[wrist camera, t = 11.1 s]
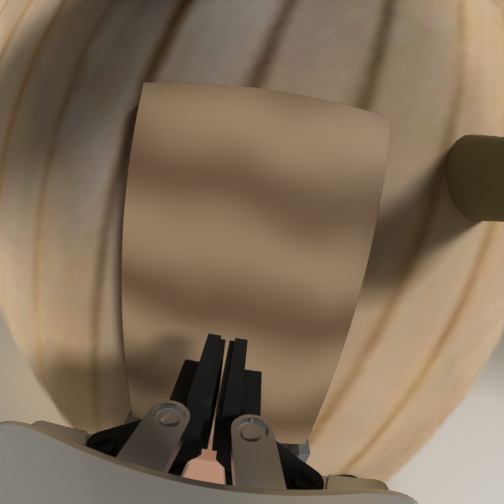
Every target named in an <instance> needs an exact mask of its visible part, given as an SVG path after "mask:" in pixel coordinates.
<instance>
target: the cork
mask: <svg viewBox="0 0 504 504" xmlns="http://www.w3.org/2000/svg"><path fill="white" fill-rule="evenodd" d="M447 178H448V183H449V189H450V193H451V195H452V198H453V200H454V203H455V205H456V206H457V207H458V209H459V210H460V212H461V213H462V214H463V215H465V216H466V217H468V218H469V219H472V220H478V221H501V222H504V137H497V136H486V135H465V136H463V137H462V138H460V139H459V140H457V142H456V143H455V145H454V146H453V148H452V149H451V153H450V156H449V160H448V173H447Z"/></svg>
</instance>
